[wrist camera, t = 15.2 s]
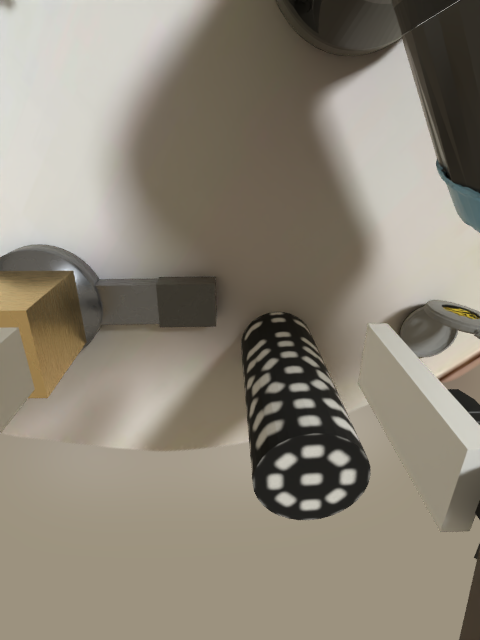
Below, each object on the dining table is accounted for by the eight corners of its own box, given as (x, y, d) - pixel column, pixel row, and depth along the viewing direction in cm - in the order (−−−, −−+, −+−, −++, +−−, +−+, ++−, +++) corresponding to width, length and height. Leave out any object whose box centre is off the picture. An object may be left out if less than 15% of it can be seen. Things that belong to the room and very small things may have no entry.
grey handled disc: (214, 243, 40) (212, 267, 32) (216, 345, 45) (215, 387, 37) (-22, 244, 39) (-83, 269, 31) (8, 347, 44) (-39, 391, 36)
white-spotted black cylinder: (242, 376, 47) (254, 523, 29) (239, 314, 43) (250, 437, 25) (310, 372, 47) (364, 516, 29) (312, 309, 43) (376, 429, 25)
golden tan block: (-10, 271, 38) (-84, 311, 28) (73, 270, 38) (25, 310, 29) (10, 342, 41) (-50, 399, 32) (86, 341, 41) (47, 397, 32)
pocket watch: (404, 360, 47) (448, 413, 38) (388, 302, 43) (431, 344, 34) (471, 336, 46) (533, 384, 37) (459, 274, 42) (524, 310, 33)
